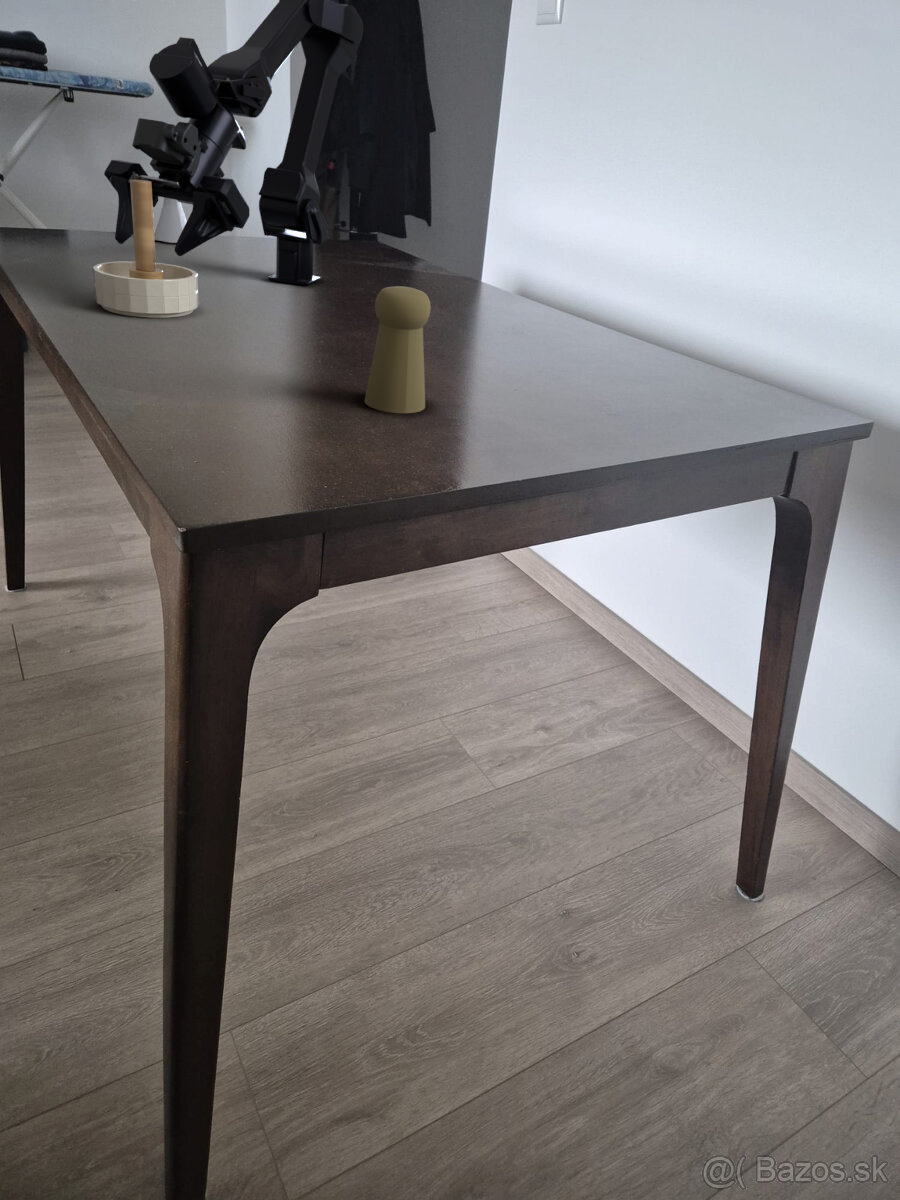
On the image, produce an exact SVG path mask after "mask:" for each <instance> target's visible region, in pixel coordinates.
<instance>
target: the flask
mask: <svg viewBox="0 0 900 1200" xmlns="http://www.w3.org/2000/svg"><path fill="white" fill-rule="evenodd" d="M182 205H183V203H181V202H178V201H177V200H175V199H170V198H164V197H163V202H162V207H161V211H160V215H159V218H158V221H157V225H156V229H155V230H154V239H155V241H159V242H164V243H169V244H177V241H178V238H179V236H180V234H181V232H182V230H183V228H184V226H185V224H186V222H187V220H188V219H187V218H186V214H185V210H184V209H183V206H182Z"/></svg>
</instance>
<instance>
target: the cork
mask: <svg viewBox="0 0 900 1200" xmlns="http://www.w3.org/2000/svg"><path fill="white" fill-rule="evenodd" d="M431 309H432V308H431V300H430V298H429V296H428V294H427V293H425V291H422V290H419V289H416V288H414V287H409V286H403V285H401V286H400V285H396V286H388V287H384V288H383V289H381V290H380V291H379V292H378V294H377V296H376V299H375V302H374V310H375V315H376V318H377V320H378V321H379V325H378V331H377V336H376V339H375V340H376V341H375V346H374V350H373V356H372V361H371V366H370V371H369V376H368V380H367V386H366V390H365V396H364V403H365V405H367V406H368V407H369V408H372V409H375V410H377V411H380V412H386V413H390V414H391V413H392V414H415V413H418V412H422V411H423V410H425V408H426V387H425V386H426V384H425V354H424V353H425V351H424V350H425V349H424V326H425V325H426V324H427V323H428V321H429V318H430V315H431Z"/></svg>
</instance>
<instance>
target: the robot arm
mask: <svg viewBox="0 0 900 1200" xmlns="http://www.w3.org/2000/svg"><path fill="white" fill-rule="evenodd" d="M363 23H364V22H363V20H362V17H361V16H360V15H359V13H358V11H357V9H356V8H355V6H354V5H352V4H345V3H344V4H343V3H338V2H336V1H333V0H278V2H277V3H276V4H275V6H274V7H273V8H272V10H270V12H269V13H268V14H267V15H266V17H265V18H264V19H263V21H262V22H261V23H260V24H259V25H258V27H257V28H256V29H255V30H254V31H253V32H252V33H251V35H250V37H248V39H247V40H246V42H245V43H244V44H243V45H242V46H240V47H239V48H237V49H235V50H232V51H230V52H227V53H224V54H222V55H220V56H219V57H218V58H217V59H215V60H214V61H212V62H211V63H210V64H209V65H207V63H206V61H205V60H204V59H205V58H203V56H202V53H201V51H200V48H199V45H198V43H197V41H196V40H195V38H191V37H182V36H180V37H178V39H177V41H176V43H173V44H170V45H168V46H165V47H164V48H162V49H161V50H160V51H158V52H157V53H155V54H153V55H152V57H151V59H150V61H149V66H148V67H149V72H150V74H151V75H152V78H153V79H154V80H155V82H156V84H157V85H158V87H159V88H160V90H161V92H162V94H163V95H164V97H165V99H166V100H167V102H168V103H169V105H170V107H171V108H172V110H173V112H174V113H175V115H177V117H180V118H184V119H188V121H187V122H184V121H178V122H177V123H176V125H175V124H173V123H168V122H165V121H161V120H155V119H149V118H148V119H147V118H143V117H141V118H140V117H139V118H138V119H137V123H136V128H135V131H134V136H133V140H132V144H131V145H132V147H133V148H134V149H135V150H139V151H141V152H142V153H144V154H145V155H146V156H148V157H149V158H150V159H151V160H150V162H149V165H150V166H151V168H152V170H153V171H154V172H157V173H158V177H156V176H151V175H148V173H147V172H146V171H145V169H144V167H143V166H142V165H141V163H138V162H133V161H127V160H122V159H110V162H109V163H108V165H107V167H106V168H105V170H104V173H103V175H104V176H105V178H106V179H107V180H108V182H109V183H110V185H111V186H112V187H113V189H114V190H115V191H116V193H117V197H118V206H117V217H116V226H115V233H114V239H115V241H116V242H117V243H118V244H119V245H122V244H124V243H125V242H126V241H128V240H129V239H130V238H131V237H132V236H134V233H133V217H132V201H131V185H130V180H145V181H150V182H152V200H153V209H154V208H155V207H156V206H157V204H158V202H159V198H163V199H164V198H170V199H175V200H177V201H178V202H181V204H186V205H187V204H188V205H192V210H191V213H190V214H189V217H188V218H187V219H186V220H187V222H186V224H185V226H184V228H183V230H182V232H181V234H180V236H179V238H178V241H177V243H175V247H174V249H173V251H174V253H175V254H176V255H177V256H178V257H182V256H184V255H186V254H187V253H189V252H191V251H192V250H194V249H196V248H197V247H199V246H201V245H202V244H204V243H206V242H209V240H212V239H214V238H216V237H218V236H220V235H222V234H224V233H226V232H233V230H234V229H235V228H238V229H244V227H245V225H246V223H247V222H248V220H249V218H250V206H249V204H248V203H247V201H246V199H245V197H244V195H243V194H242V193H241V191H240V189H239V187H238V185H237V184H236V182H235V180H234V179H233V178H228V177H225V172H224V171H223V169H222V165H223V163H224V161H225V159H226V158H227V156H228V154H229V152H230V150H231V149H236V150H246V149H247V142H246V137H245V136H244V128H243V126H241V125H239V124H238V122H237V120H236V118H235V116H238V117H244V118H252V119H256V118H258V117H259V116H260V115H261V114H262V113H263V111H264V109H265V107H266V106H267V103H268V102H269V100H270V98H271V96H272V94H273V85H272V79H273V78H274V76H275V74H276V73H277V72H278V70H279V69H280V68H281V67H282V66H283V64H284V62H286V60H287V59H288V57H289V56H291V54H292V52H293V51H294V50H295V49H296V47H297V46H298V45H299V43H300V45H301V49H302V52H303V56H304V60H305V64H304V68H303V73H302V77H301V82H300V85H299V89H298V94H297V98H296V102H295V107H294V110H293V115H292V118H291V123H290V128H289V131H288V136H287V140H286V144H285V148H284V151H283V152H284V153H283V156H282V160H281V162H280V163H279V164H278V165H277V166H276V167H271V166H268V167H266V169H265V171H264V173H263V179H262V185H261V188H260V190H259V191H258V196H260V197H259V200H258V212H259V217H260V220H261V226H262V230H263V235H264V236H267V237H273V238H274V237H276V249H275V250H276V251H275V252H276V253H275V254H276V255H275V256H276V257H275V273H274V274H272V275H269V276H267V277H268V278H267V279H268V280H269V281H274V282H279V283H280V282H281V283H288V284H293V285H301V286H310V285H312V284H314V283H317V282H318V281H320V280H321V276H316V275H314V256H315V255H314V254H315V253H314V252H315V244H316V245H323V244H324V243H327V240H328V235H329V231H330V228H329V226H328V223H327V222H326V219H325V217H324V215H323V213H322V210H321V209H320V200H321V192H320V189H319V186H318V182H317V178H316V171H317V165H318V163H319V158H320V154H321V150H322V146H323V141H324V137H325V134H326V130H327V125H328V122H329V117H330V112H331V109H332V104H333V101H334V98H335V97H334V96H335V93H336V88H337V84H338V80H339V77H340V75H341V74H342V73H343V72H345V70H346V69H347V68H348V67H349V66H350V65H351V64H352V63H353V62H354V60H355V57H356V55H357V52H358V49H359V47H360V43H361V41H362V38H363V34H364V24H363Z"/></svg>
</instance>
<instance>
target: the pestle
mask: <svg viewBox="0 0 900 1200" xmlns="http://www.w3.org/2000/svg"><path fill="white" fill-rule="evenodd" d="M130 185H131V201H132V217H133V248H134V261H135V265H136V267H131V268H129V278H140V279H159V280H163V270H161V269H158V268H156V263H157V262H156V261H157V259H156V244H155V243H156V240H155V239H154V235H155V222H154V220H155V219H154V208H153V200H152V182H150V181H145V180H130Z"/></svg>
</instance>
